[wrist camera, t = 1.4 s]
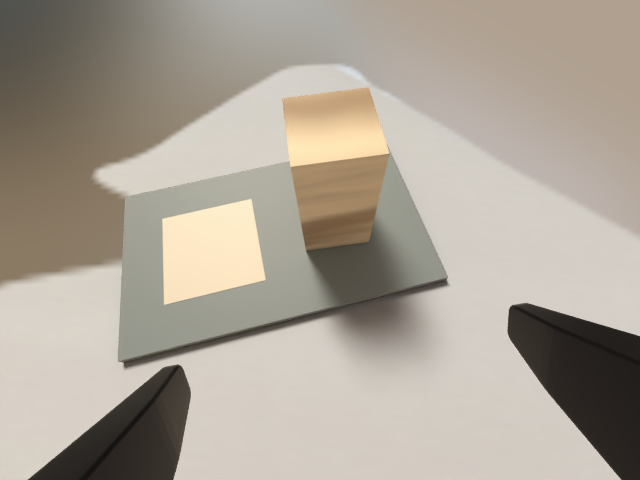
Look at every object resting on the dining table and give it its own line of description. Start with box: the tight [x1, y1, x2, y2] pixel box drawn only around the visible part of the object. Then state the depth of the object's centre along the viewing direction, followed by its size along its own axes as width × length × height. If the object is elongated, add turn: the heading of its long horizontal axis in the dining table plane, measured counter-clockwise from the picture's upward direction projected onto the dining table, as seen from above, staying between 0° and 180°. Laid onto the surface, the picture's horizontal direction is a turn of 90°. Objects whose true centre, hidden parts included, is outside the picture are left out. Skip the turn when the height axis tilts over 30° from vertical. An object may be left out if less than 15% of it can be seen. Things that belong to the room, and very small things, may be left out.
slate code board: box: [118, 143, 448, 362], centre depth 26 cm, size 24×14×1 cm, turn 104°
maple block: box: [282, 88, 389, 251], centre depth 21 cm, size 5×5×10 cm
